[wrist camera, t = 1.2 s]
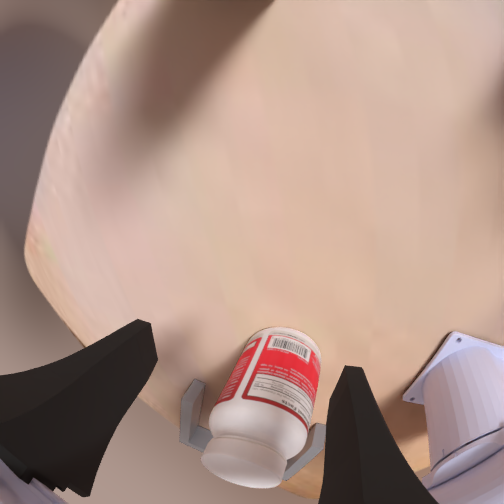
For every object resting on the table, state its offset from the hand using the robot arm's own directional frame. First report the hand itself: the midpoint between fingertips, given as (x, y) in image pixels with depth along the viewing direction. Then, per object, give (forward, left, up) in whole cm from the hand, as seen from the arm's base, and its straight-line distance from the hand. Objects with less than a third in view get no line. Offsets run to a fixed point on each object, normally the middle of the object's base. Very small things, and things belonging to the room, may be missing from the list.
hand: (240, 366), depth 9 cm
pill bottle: (-2, +8, -10) cm, 13 cm away
